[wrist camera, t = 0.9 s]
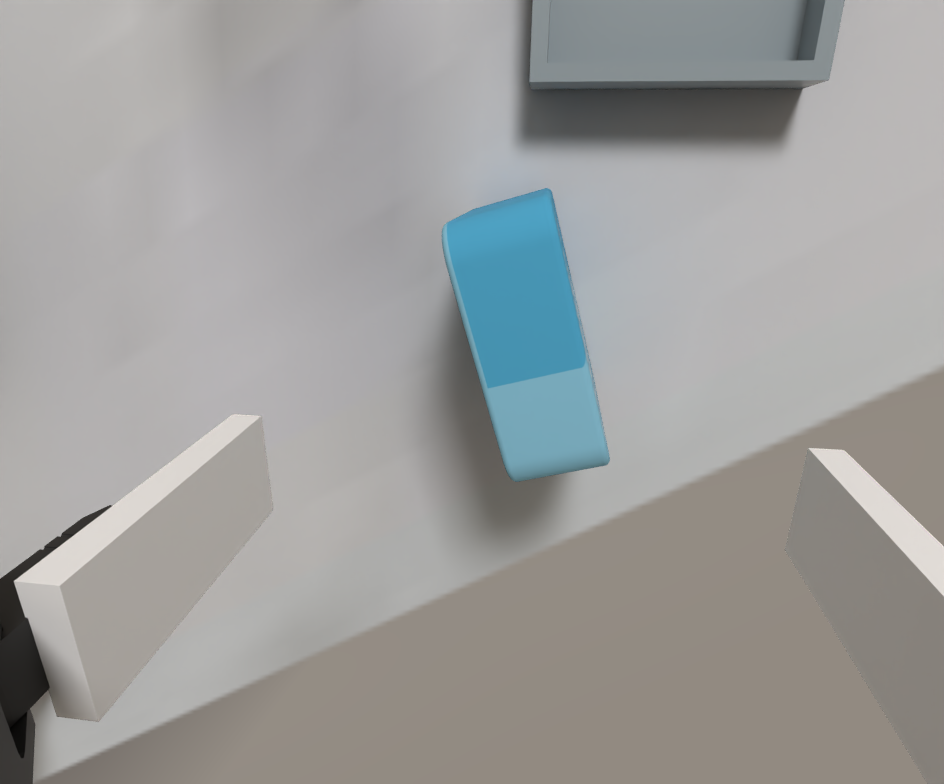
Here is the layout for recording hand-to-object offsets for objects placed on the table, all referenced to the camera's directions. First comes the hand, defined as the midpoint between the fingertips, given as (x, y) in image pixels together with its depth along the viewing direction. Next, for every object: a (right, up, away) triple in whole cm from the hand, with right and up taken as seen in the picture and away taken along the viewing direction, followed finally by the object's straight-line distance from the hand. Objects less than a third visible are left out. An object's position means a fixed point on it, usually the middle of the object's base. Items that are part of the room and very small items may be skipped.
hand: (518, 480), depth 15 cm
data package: (+3, +8, +21) cm, 23 cm away
